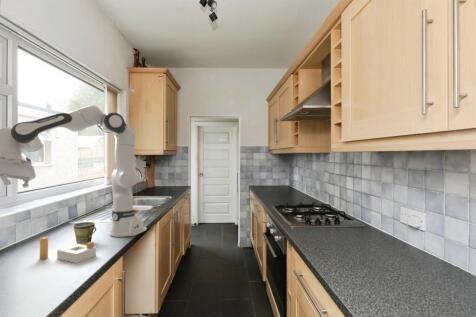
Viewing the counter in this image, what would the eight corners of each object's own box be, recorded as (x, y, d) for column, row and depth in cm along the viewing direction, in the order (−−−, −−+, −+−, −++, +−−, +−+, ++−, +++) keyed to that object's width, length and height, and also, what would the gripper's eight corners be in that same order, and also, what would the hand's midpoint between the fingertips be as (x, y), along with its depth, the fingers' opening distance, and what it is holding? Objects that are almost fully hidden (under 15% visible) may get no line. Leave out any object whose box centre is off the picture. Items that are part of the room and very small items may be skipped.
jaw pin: (45, 256, 126) (45, 236, 126) (49, 257, 125) (49, 237, 125) (38, 258, 123) (38, 238, 123) (42, 259, 122) (42, 239, 122)
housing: (77, 251, 133) (77, 239, 133) (95, 255, 128) (96, 242, 128) (57, 258, 124) (57, 245, 124) (76, 263, 119) (76, 249, 119)
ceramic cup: (68, 244, 144) (68, 225, 144) (85, 239, 153) (85, 221, 153) (87, 247, 139) (87, 227, 139) (103, 242, 149) (103, 223, 149)
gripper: (-4, 151, 122) (2, 180, 119) (35, 161, 142) (40, 185, 139) (-17, 157, 122) (-12, 186, 119) (24, 166, 142) (29, 190, 139)
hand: (17, 185), depth 129 cm, fingers open, 8 cm apart
